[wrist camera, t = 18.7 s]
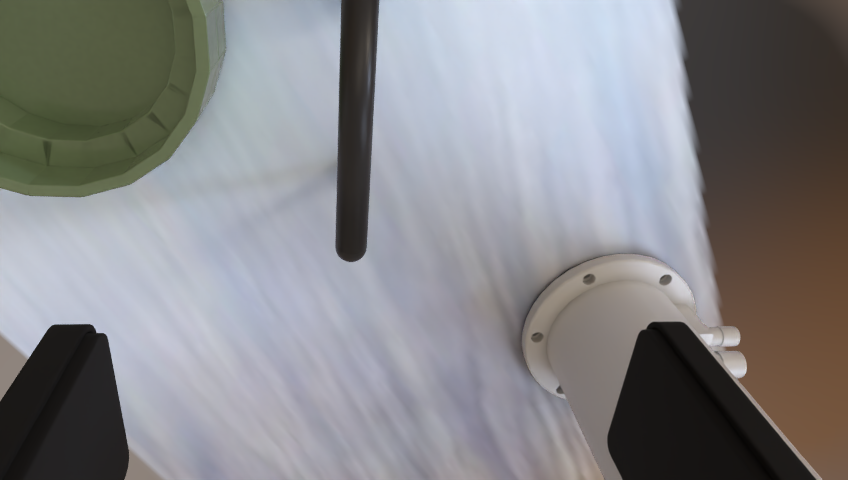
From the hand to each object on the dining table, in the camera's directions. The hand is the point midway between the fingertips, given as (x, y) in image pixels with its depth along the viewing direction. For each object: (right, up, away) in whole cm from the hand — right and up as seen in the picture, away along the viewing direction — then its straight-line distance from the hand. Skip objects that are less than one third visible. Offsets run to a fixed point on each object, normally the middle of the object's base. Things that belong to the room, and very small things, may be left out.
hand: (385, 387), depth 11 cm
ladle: (-3, +13, +22) cm, 26 cm away
